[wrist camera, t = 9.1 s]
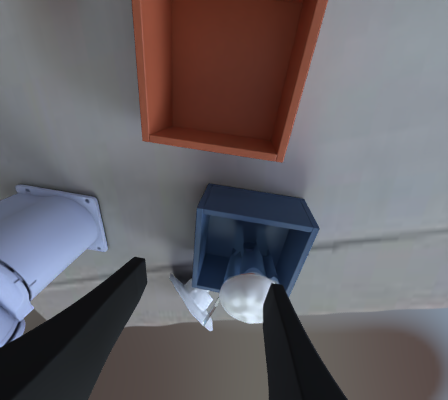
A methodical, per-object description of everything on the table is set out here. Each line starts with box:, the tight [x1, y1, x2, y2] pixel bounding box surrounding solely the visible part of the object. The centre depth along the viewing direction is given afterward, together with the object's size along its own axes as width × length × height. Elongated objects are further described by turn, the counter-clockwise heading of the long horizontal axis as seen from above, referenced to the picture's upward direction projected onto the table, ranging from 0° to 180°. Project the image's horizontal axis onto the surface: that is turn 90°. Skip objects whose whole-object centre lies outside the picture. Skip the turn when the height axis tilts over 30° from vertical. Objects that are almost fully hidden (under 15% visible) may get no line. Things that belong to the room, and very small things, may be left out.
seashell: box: [169, 273, 213, 331], centre depth 24 cm, size 8×5×8 cm
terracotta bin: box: [132, 0, 328, 163], centre depth 13 cm, size 10×10×5 cm
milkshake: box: [203, 221, 280, 326], centre depth 17 cm, size 4×5×10 cm
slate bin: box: [192, 183, 319, 297], centre depth 19 cm, size 10×10×5 cm
